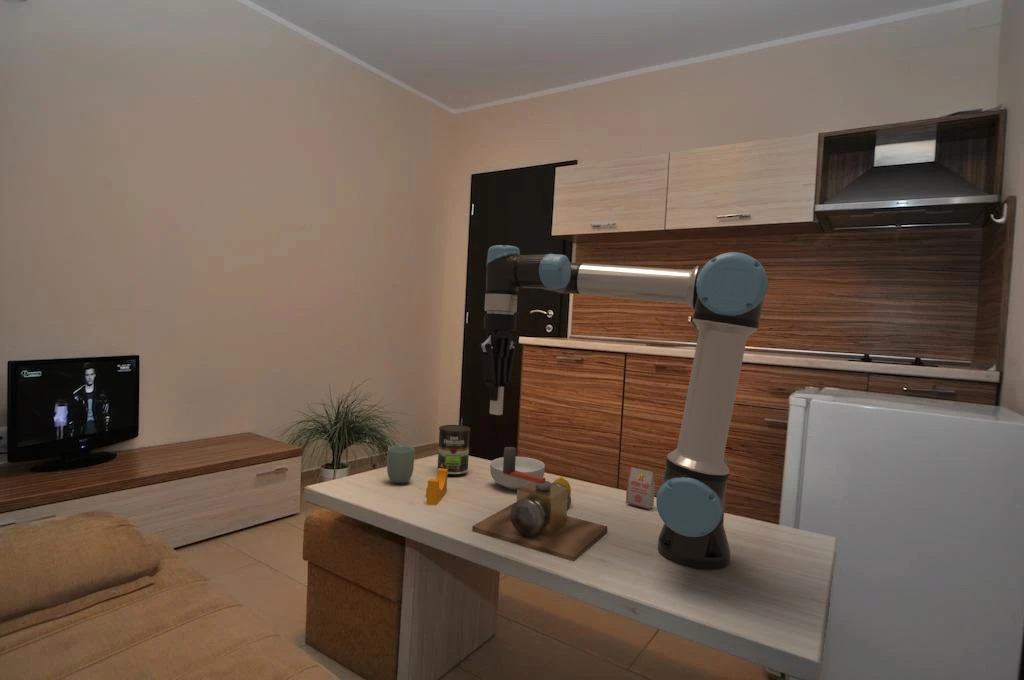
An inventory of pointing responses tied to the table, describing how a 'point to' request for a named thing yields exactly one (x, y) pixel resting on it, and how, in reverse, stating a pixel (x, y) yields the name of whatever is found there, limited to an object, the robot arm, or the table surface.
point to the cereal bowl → (521, 465)
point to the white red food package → (640, 488)
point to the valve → (540, 510)
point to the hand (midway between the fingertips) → (496, 413)
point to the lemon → (563, 483)
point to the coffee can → (454, 448)
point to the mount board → (561, 544)
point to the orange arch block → (437, 487)
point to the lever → (510, 470)
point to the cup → (400, 463)
